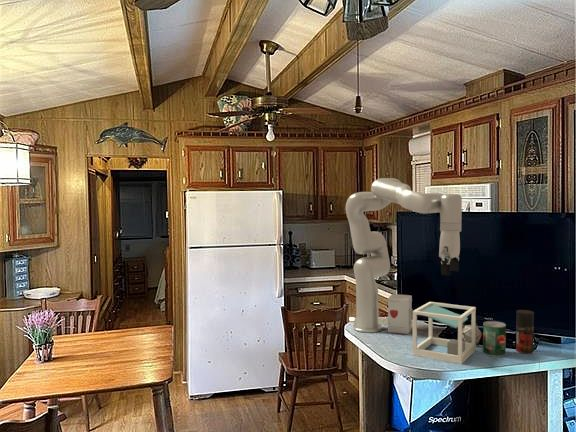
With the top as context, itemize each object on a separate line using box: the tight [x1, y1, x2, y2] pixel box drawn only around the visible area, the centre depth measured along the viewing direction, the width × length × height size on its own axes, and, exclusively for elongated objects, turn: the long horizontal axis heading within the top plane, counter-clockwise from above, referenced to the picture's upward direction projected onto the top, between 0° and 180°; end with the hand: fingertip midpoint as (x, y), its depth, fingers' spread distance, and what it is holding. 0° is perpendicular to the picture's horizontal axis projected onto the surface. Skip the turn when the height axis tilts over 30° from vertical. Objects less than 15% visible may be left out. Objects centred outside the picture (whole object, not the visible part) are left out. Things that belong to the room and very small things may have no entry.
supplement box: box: [387, 293, 413, 335], centre depth 221 cm, size 9×9×15 cm
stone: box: [446, 338, 465, 355], centre depth 189 cm, size 5×5×5 cm
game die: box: [462, 323, 483, 346], centre depth 201 cm, size 9×8×10 cm
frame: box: [412, 301, 477, 365], centre depth 191 cm, size 18×18×16 cm
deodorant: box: [515, 309, 535, 355], centre depth 191 cm, size 6×6×15 cm
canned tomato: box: [482, 320, 507, 357], centre depth 190 cm, size 8×8×11 cm
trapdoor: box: [421, 304, 469, 329], centre depth 191 cm, size 14×14×1 cm
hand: (450, 272), depth 191 cm, fingers open, 9 cm apart
